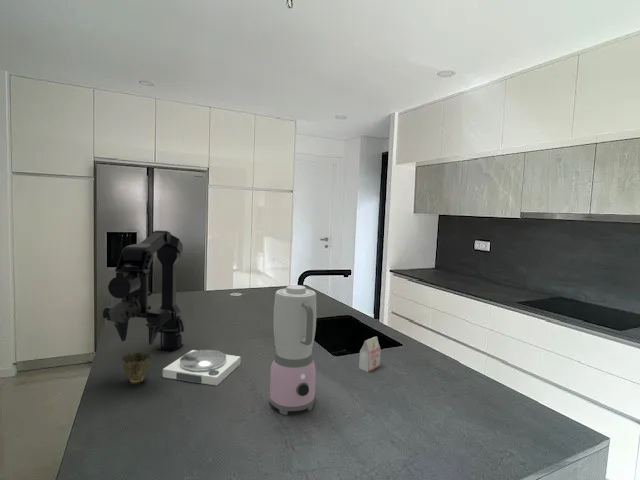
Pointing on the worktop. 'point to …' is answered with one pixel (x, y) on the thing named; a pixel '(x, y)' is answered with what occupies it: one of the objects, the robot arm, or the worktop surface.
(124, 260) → the robot arm
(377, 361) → the milk carton
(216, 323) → the worktop surface
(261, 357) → the worktop surface
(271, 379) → the blender
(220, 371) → the scale base
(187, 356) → the scale pan
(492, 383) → the worktop surface
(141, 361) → the cup
